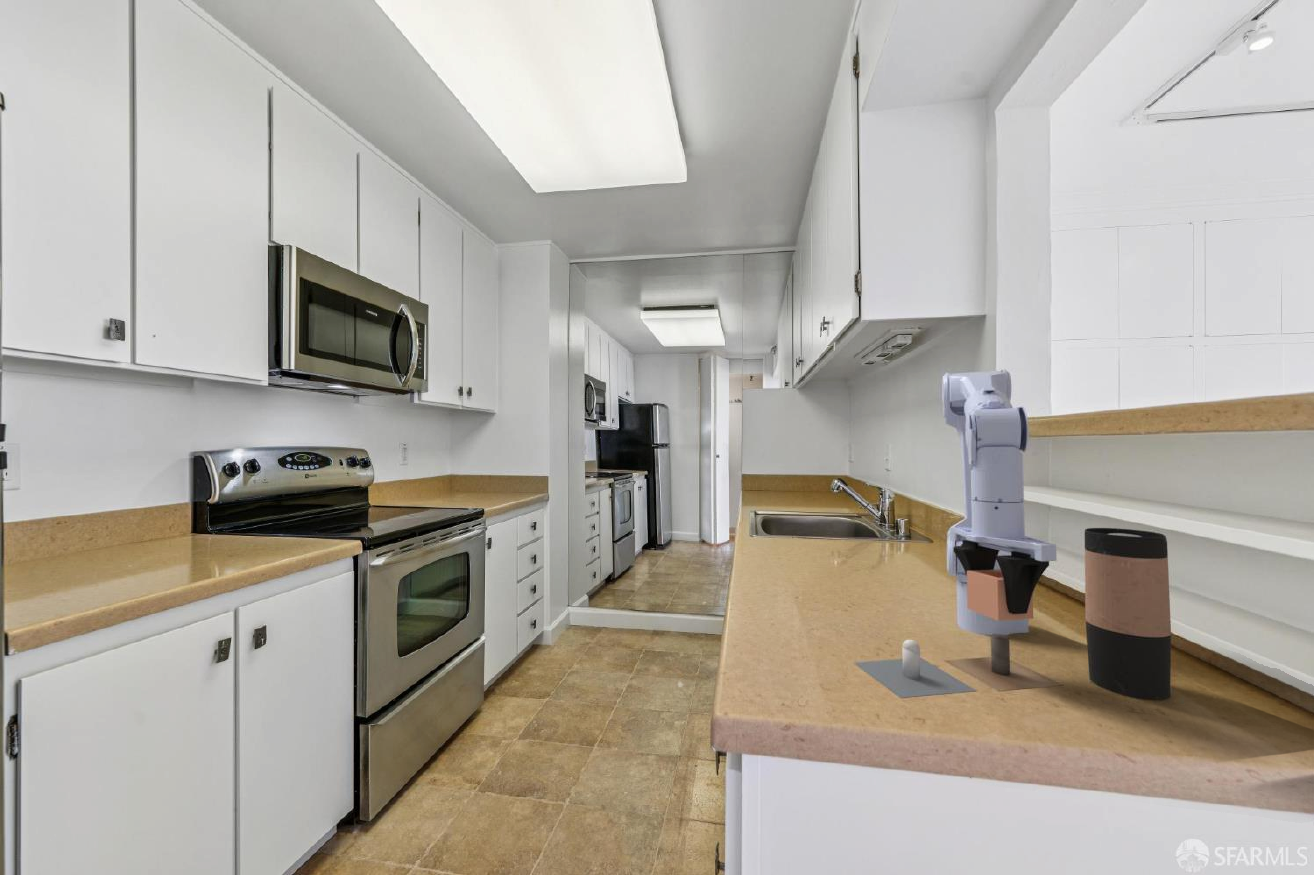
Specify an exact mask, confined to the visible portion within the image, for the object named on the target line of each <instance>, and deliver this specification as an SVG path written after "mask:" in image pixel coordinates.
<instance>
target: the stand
mask: <svg viewBox="0 0 1314 875" xmlns="http://www.w3.org/2000/svg"><path fill="white" fill-rule="evenodd" d="M1010 647H1011V646H1010V637H1009V636H1008V635H1000V634H991V636H990V656H983V657H972V658H960V659H946V660H944V662H946V663H947V664H950V666H953V667H955V668H957V669H959V670H960V671H962V672H963V673H965V674H967V675H969V676H970V677H972V678H974V679H976V680H978V681H979V682H982V683H983V684H985V685H986V686H989V687H990V688H992V689H994V690H996V691H997V692H1005V691H1016V690H1017V691H1018V690H1027V689H1037V688H1038V689H1039V688H1049V687H1060V686H1064V684H1062V683H1060V682H1059V681H1056V680H1054V679H1052V678H1050V677H1047V676H1045V675H1044V674H1041V673H1039V672H1037V671H1035V670H1034V669H1031V668H1029V667H1026V666H1025V665H1023V664H1020V663H1018V662H1016V661H1014V660H1012V659H1010V658H1011V656H1010V654H1011V653H1010Z"/></svg>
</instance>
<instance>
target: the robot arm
mask: <svg viewBox="0 0 1314 875" xmlns="http://www.w3.org/2000/svg"><path fill="white" fill-rule="evenodd" d="M941 389H942V390H941V397H942V398H941V399H942V406H943V407H942V409H943V418H944V419H945V420H944V421H945V422H944V423H945V424H946V425H948V426H950V427H953V428H954V429H956V432H957V435H958V438H959V441H960V448H961V468H962V471H961V472H962V487H963V488H962V491H963V492H962V493H963V508H964V519H961V520H960V521H958V522H957V523H955V524H953V525H951V526H950V527H949V529H948V531H947V533H946V537H947V538H946V568H947V573H948V574H949V575H950V576H951V577H955V579H956V606H957V607H956V610H957V614H956V616H957V618H956V619H957V620H956V621H957V626H958V627H959V628H960V629H962V630H964V631H966V632H967V631H968V632H970V633H974V634H977V635H984V636H990V637H991V634H1000V635H1005V636H1008V635H1012V634H1013V635H1014V634H1023V633H1029V632H1030V630H1029V619H1018V620H1004V621H998V620H995V619H992V618H990V617H987V616H985V615H982V614H980V613H977V612H975V611H972V610H970V609H967V571H974V570H995V569H1000V570H1001V572H1002V575H1003V579H1004V584H1005V592H1006V603H1007V608H1008V611H1009V613H1011V614H1025V613H1027V611H1028V607H1029V604H1030V600H1031V597H1032V594H1033V595H1034V591H1035V589H1036V588H1035V587H1037V584H1038V582H1039V580H1040V578H1041V577H1042V575H1043V574H1044V572H1045V571H1046V569H1047V568H1048V567H1050V562H1056V561H1057V544H1055V543H1049V542H1046V541H1043V540H1040V539H1036V538H1033V537H1031V536H1030V537H1029V536H1026V534H1025V533H1026V530H1025V528H1026V526H1025V493H1024V490H1025V488H1024V482H1025V481H1024V453H1025V452H1026V451H1027V448H1028V443H1029V436H1030V430H1029V429H1030V428H1029V427H1030V426H1029V419H1028V415H1027V411H1026V409H1025V407H1024V406H1023V405H1022V406H1016V407H1013V405H1012V402H1011V399H1012V378H1011V374H1010V372H1009V371H1007V369H1000V370H989V371H973V372H971V371H970V372H956V373H950V372H945V374H944V375H943V376H942V380H941Z"/></svg>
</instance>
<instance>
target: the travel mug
mask: <svg viewBox="0 0 1314 875" xmlns="http://www.w3.org/2000/svg"><path fill="white" fill-rule="evenodd" d="M1167 540H1168V539H1167V537H1166V535H1164V534H1163V533H1159V532H1155V531H1149V530H1148V531H1147V530H1140V529H1128V528H1118V527H1117V528H1116V527H1112V528H1111V527H1089V528H1088V527H1087V528H1085V529H1084V590H1085V591H1084V594H1085V596H1084V598H1085V600H1084V602H1085V603H1084V604H1085V605H1084V606H1085V608H1084V609H1085V630H1086V631H1085V632H1086V647H1087V661H1088V663H1087V664H1088V678H1089V680H1090V681H1091V683H1093V684H1094V685H1096V686H1098V687H1100V688H1102V689H1103V690H1106V691H1108V692H1111V693H1115V694H1117V695H1121V696H1125V697H1129V698H1135V699H1138V700H1146V701H1165V700H1166V701H1167V699H1170V697H1171V668H1172V666H1171V665H1172V663H1171V662H1172V661H1171V660H1172V657H1171V656H1172V627H1171V626H1172V624H1171V621H1172V620H1171V601H1170V600H1171V598H1170V579H1169V557H1168V556H1169V553H1168V541H1167Z"/></svg>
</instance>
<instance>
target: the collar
mask: <svg viewBox="0 0 1314 875" xmlns="http://www.w3.org/2000/svg"><path fill="white" fill-rule="evenodd" d="M1033 595H1034V593H1033V594H1032V597H1031V600H1030V604H1029V607H1028V611H1027V613H1025V614H1011V613H1009V611H1008V608H1007V603H1006V592H1005V584H1004V579H1003V575H1002V572H1001V570H1000V569H995V570H974V571H967V609H970V610H972V611H975V612H977V613H980V614H982V615H985V616H987V617H990V618H992V619H995V620H998V621H1004V620H1018V619H1028V620H1031V619H1034V600H1033V599H1034V596H1033Z"/></svg>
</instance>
